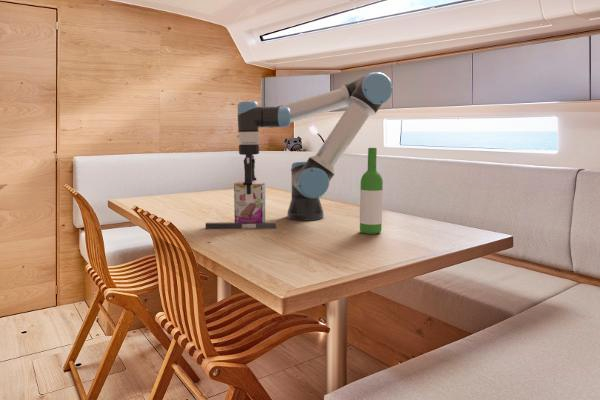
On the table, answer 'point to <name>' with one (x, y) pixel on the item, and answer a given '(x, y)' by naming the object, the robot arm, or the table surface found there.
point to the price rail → (240, 225)
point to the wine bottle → (371, 197)
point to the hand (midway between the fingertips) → (250, 200)
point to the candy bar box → (249, 210)
